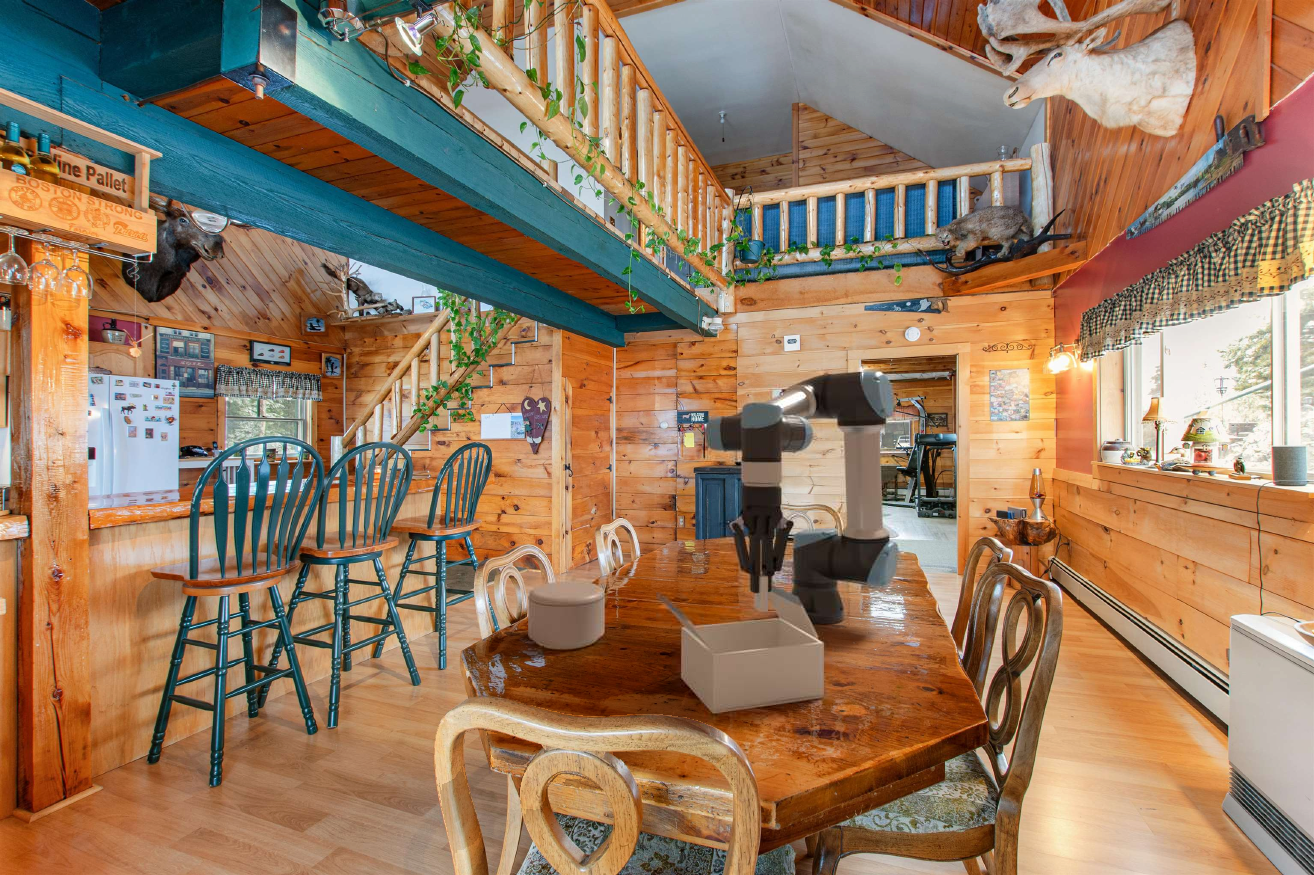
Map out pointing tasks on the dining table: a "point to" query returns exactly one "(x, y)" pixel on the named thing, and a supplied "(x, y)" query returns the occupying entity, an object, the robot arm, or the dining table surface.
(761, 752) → the dining table surface
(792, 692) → the carton
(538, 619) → the container
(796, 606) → the flap
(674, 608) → the flap
